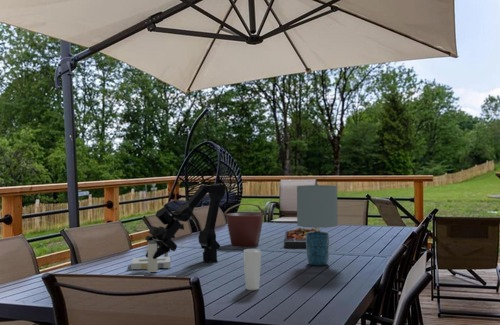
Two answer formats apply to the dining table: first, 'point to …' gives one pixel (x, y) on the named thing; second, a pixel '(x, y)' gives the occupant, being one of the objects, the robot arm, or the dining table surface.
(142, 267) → the socket panel
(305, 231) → the food platter
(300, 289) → the dining table surface
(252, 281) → the drinking glass
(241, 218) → the bucket
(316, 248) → the lamp
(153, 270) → the plug
